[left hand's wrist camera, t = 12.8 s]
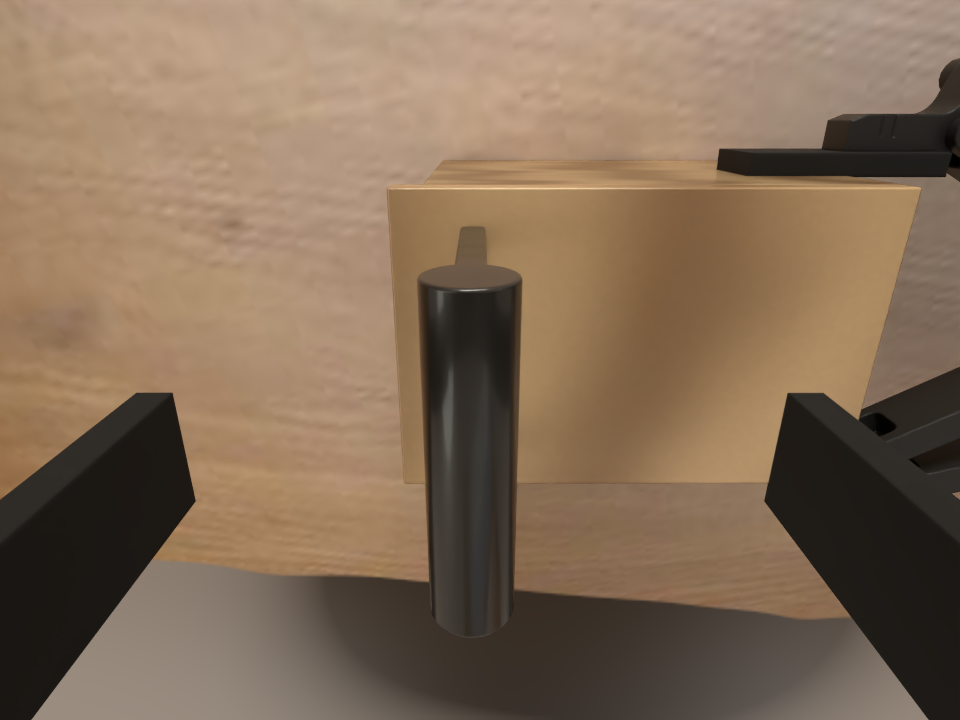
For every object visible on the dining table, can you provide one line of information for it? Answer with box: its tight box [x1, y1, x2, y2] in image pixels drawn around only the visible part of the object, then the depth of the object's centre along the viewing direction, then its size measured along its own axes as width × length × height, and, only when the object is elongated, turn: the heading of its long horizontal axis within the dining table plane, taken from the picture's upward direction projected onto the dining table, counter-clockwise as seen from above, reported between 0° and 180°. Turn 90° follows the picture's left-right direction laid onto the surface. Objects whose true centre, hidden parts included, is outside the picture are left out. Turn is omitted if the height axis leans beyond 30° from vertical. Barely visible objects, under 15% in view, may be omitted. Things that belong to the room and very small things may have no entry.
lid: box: [387, 185, 921, 638], centre depth 15 cm, size 15×10×8 cm, turn 90°
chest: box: [423, 161, 899, 185], centre depth 24 cm, size 14×10×10 cm
